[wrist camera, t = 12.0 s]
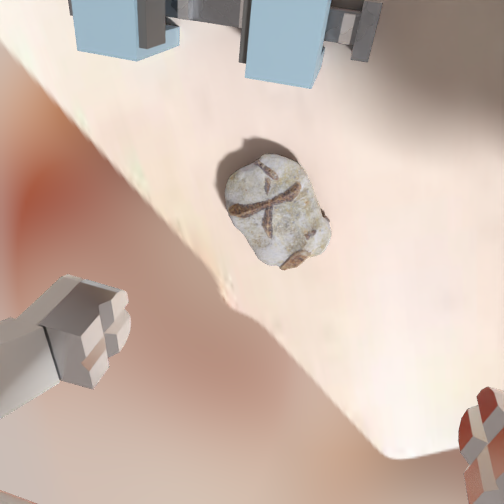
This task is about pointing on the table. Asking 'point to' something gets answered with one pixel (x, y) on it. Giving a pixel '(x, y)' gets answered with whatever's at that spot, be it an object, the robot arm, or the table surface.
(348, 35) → the rail
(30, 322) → the robot arm
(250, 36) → the light blue rectangular block
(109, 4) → the light blue block
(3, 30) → the table surface
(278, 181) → the stone
